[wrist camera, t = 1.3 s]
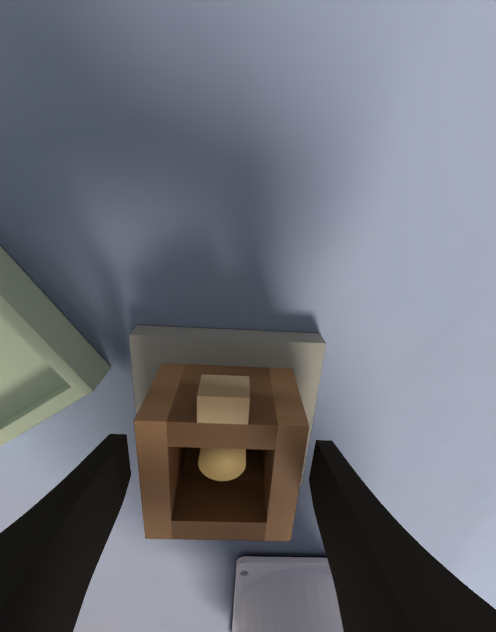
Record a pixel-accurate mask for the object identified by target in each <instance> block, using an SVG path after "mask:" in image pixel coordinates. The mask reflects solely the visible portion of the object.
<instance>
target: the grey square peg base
mask: <svg viewBox="0 0 496 632" xmlns="http://www.w3.org/2000/svg"><path fill="white" fill-rule="evenodd" d="M129 343H130V353H131V364H132V375H133V386H134V396H135V407H136V415H137V413H138V411H139V409H140V407H141V405H142V403H143V401H144V399H145V397H146V395H147V392H148V390H149V388H150V386H151V384H152V382H153V380H154V378H155V376H156V374H157V372H158V370H159V368H160V366H161V364H162V363H167V364H192V365H216V366H241V367H266V368H290V369H293V373H294V376H295V379H296V383H297V386H298V389H299V393H300V396H301V400H302V403H303V406H304V410H305V413H306V417H307V420H308V423H309V432H308V439H307V445H306V451H305V457H304V463H303V469H302V475H301V481H300V485H302V482H303V476H304V471H305V465H306V459H307V453H308V447H309V441H310V435H311V429H312V423H313V417H314V411H315V405H316V399H317V393H318V387H319V381H320V375H321V369H322V364H323V358H324V352H325V346H326V343H325V341H324V339H323V338H322V336H321V334H320V333H302V332H280V331H258V330H236V329H214V328H192V327H170V326H148V325H136V327H135V328H134V329H133V330H132V331H131V333H130V334H129ZM193 448H195V447H193ZM259 450H261V449H259ZM198 466H199V469H200V471H201V472H202V473H203V474H204V475H205V476H206V477H208V478H210V479H212V480H216V481H229V480H232V479H235V478H237V477H238V476H240V475H241V474H242V473H243V471H244V470H245V467H246V449H229V448H200V454H199V460H198Z"/></svg>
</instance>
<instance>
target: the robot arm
mask: <svg viewBox="0 0 496 632" xmlns="http://www.w3.org/2000/svg"><path fill="white" fill-rule="evenodd" d="M130 477H131V470H130V462H129V453H128V444H127V435H124V434H110V435H108V436H107V437H106V438H105V439H104V440H103V441H102V442H101V443H100V444H99V445H98V446H97V447H96V448H95V449H94V450H93V451H92V452H91V453H90V454H89V455H88V456H87V457H86V458H85V459H84V460H83V461H82V462H81V463H80V464H79V465H78V466H77V467H76V468H75V469H74V470H73V471H72V472H71V473H70V474H69V475H68V476H67V477H65V478H64V479H63V480H62V481H61V482H60V483H59V484H58V485H57V486H56V487H55V488H54V489H53V490H51V491H50V492H49V493H48V494H47V495H46V496H45V497H43V498H42V499H41V500H40V501H39V502H38V503H37V504H36V505H34V506H33V507H32V508H31V509H30V510H29V511H27V512H26V513H25V514H24V515H23V516H21V517H20V518H19V519H18V520H16V521H15V522H14V523H13V524H11V525H10V526H9V527H8V528H6V529H5V530H4V531H2V532H1V533H0V632H73V630H74V627H75V624H76V621H77V618H78V615H79V612H80V609H81V606H82V603H83V600H84V597H85V594H86V591H87V588H88V586H89V583H90V580H91V578H92V575H93V573H94V570H95V568H96V566H97V563H98V561H99V559H100V556H101V554H102V551H103V549H104V547H105V544H106V542H107V540H108V537H109V535H110V533H111V530H112V528H113V525H114V523H115V521H116V518H117V516H118V513H119V511H120V508H121V506H122V503H123V500H124V497H125V494H126V490H127V487H128V484H129V480H130ZM309 482H310V489H311V495H312V501H313V507H314V511H315V515H316V519H317V523H318V526H319V530H320V534H321V537H322V541H323V545H324V548H325V552H326V556H327V558H313V557H253V556H244V557H240V558H239V559H238V560H237V563H236V577H235V592H234V606H233V620H232V632H496V610H495V609H494V608H493V607H492V606H490V605H489V604H488V603H487V602H485V601H484V600H483V599H482V598H481V597H479V596H478V595H477V594H476V593H474V592H473V591H472V590H471V589H469V588H468V587H467V586H466V585H465V584H463V583H462V582H461V581H460V580H459V579H458V578H456V577H455V576H454V575H453V574H452V573H451V572H450V571H449V570H447V569H446V568H445V567H444V566H443V565H442V564H441V563H440V562H438V561H437V560H436V559H435V558H434V557H433V556H432V555H431V554H430V553H428V552H427V551H426V550H425V549H424V548H423V547H422V546H421V545H420V544H419V543H418V542H417V541H416V540H415V539H414V538H413V537H412V536H411V535H410V534H409V533H408V532H407V531H406V530H405V529H404V528H403V527H402V526H401V525H400V524H399V523H398V522H397V520H396V519H395V518H394V517H393V516H392V515H391V514H390V513H389V512H388V511H387V509H386V508H385V507H384V506H383V505H382V504H381V503H380V501H379V500H378V499H377V498H376V497H375V496H374V494H373V493H372V492H371V491H370V490H369V488H368V487H367V486H366V485H365V483H364V482H363V481H362V480H361V478H360V477H359V476H358V475H357V473H356V472H355V471H354V469H353V468H352V467H351V465H350V464H349V463H348V462H347V460H346V459H345V458H344V456H343V455H342V453H341V452H340V451H339V449H338V448H337V447H336V445H335V444H334V443H333V442H332V441H323V440H316V444H315V449H314V455H313V460H312V466H311V471H310V477H309Z"/></svg>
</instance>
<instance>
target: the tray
mask: <svg viewBox="0 0 496 632" xmlns="http://www.w3.org/2000/svg"><path fill="white" fill-rule="evenodd" d="M110 369H111V367H110V366H109V365H108V364H107V362H106V361H105V360H104V359H103V358H102V357H101V356H100V355H99V354H98V353H97V351H96V350H95V349H94V348H93V347H92V346H91V345H90V344H89V343H88V342H87V340H86V339H85V338H84V337H83V336H82V335H81V334H80V333H79V332H78V331H77V329H76V328H75V327H74V326H73V325H72V324H71V323H70V322H69V321H68V320H67V318H66V317H65V316H64V315H63V314H62V313H61V312H60V311H59V310H58V309H57V307H56V306H55V305H54V304H53V303H52V302H51V301H50V300H49V299H48V298H47V296H46V295H45V294H44V293H43V292H42V291H41V290H40V289H39V288H38V287H37V286H36V284H35V283H34V282H33V281H32V280H31V279H30V278H29V277H28V276H27V275H26V273H25V272H24V271H23V270H22V269H21V268H20V267H19V266H18V265H17V264H16V262H15V261H14V260H13V259H12V258H11V257H10V256H9V255H8V254H7V253H6V251H5V250H4V249H3V248H2V247H1V246H0V446H1V445H3V444H5V443H6V442H8V441H10V440H12V439H13V438H15V437H17V436H18V435H20V434H22V433H23V432H25V431H27V430H28V429H30V428H32V427H33V426H35V425H37V424H38V423H40V422H42V421H44V420H45V419H47V418H49V417H50V416H52V415H54V414H55V413H57V412H59V411H60V410H62V409H64V408H65V407H67V406H69V405H71V404H72V403H74V402H76V401H77V400H79V399H81V398H82V397H84V396H86V395H87V394H89V393H91V392H92V391H94V389H95V388H96V387H97V385H98V384H99V383H100V382H101V380H102V379H103V378H104V376H105V375H106V374H107V372H108V371H109V370H110Z"/></svg>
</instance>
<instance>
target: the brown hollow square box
mask: <svg viewBox="0 0 496 632" xmlns="http://www.w3.org/2000/svg"><path fill="white" fill-rule="evenodd" d="M134 428H135V438H136V448H137V459H138V469H139V479H140V489H141V500H142V510H143V520H144V530H145V539H195V540H249V541H291V536H292V530H293V524H294V518H295V511H296V505H297V499H298V493H299V487H300V481H301V475H302V469H303V463H304V457H305V451H306V445H307V439H308V432H309V423H308V420H307V417H306V413H305V410H304V406H303V403H302V400H301V396H300V393H299V389H298V386H297V383H296V379H295V376H294V373H293V369H290V368H266V367H241V366H216V365H192V364H167V363H162V364H161V366H160V368H159V370H158V372H157V374H156V376H155V378H154V380H153V382H152V384H151V386H150V388H149V390H148V392H147V395H146V397H145V399H144V401H143V403H142V405H141V407H140V409H139V411H138V413H137V415H136V417H135V419H134ZM193 447H195V448H193ZM200 448H229V449H246V467H245V470H244V471H243V473H242V474H241V475H240V476H238V477H237V478H235V479H232V480H229V481H216V480H212V479H210V478H208V477H206V476H205V475H204V474H203V473H202V472H201V471H200V469H199V466H198V460H199V454H200ZM259 449H261V450H259Z"/></svg>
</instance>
